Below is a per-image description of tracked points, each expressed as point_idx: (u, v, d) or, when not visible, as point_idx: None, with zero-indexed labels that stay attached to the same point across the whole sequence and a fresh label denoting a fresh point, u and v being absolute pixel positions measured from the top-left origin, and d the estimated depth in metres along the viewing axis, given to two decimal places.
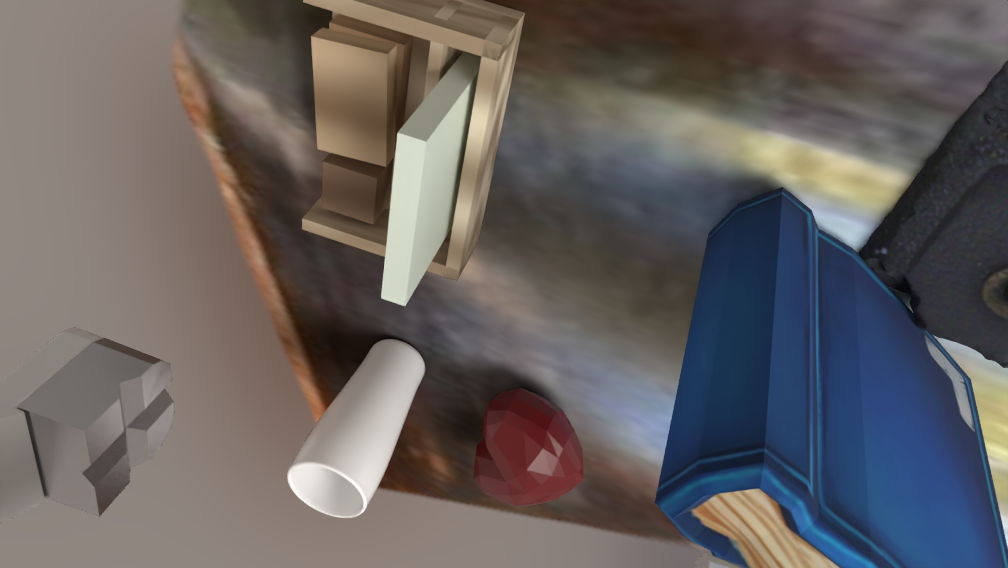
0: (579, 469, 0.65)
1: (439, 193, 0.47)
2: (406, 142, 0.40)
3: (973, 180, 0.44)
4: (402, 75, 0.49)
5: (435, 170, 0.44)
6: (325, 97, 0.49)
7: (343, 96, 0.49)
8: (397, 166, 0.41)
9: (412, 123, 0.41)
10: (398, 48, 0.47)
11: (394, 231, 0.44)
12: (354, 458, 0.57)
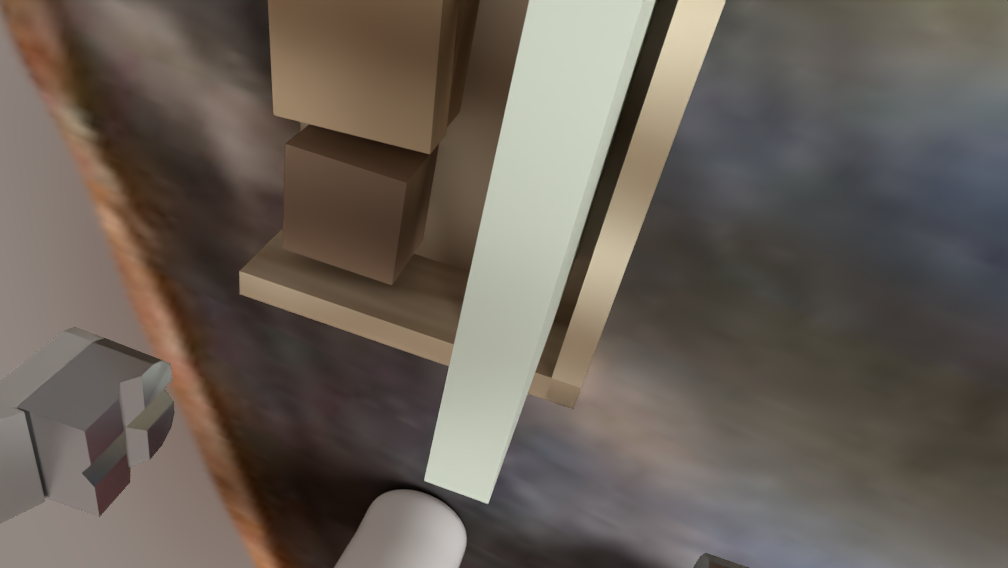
0: None
1: (586, 206, 0.18)
2: None
3: None
4: None
5: (608, 129, 0.15)
6: None
7: None
8: (520, 92, 0.12)
9: None
10: None
11: (482, 308, 0.15)
12: None
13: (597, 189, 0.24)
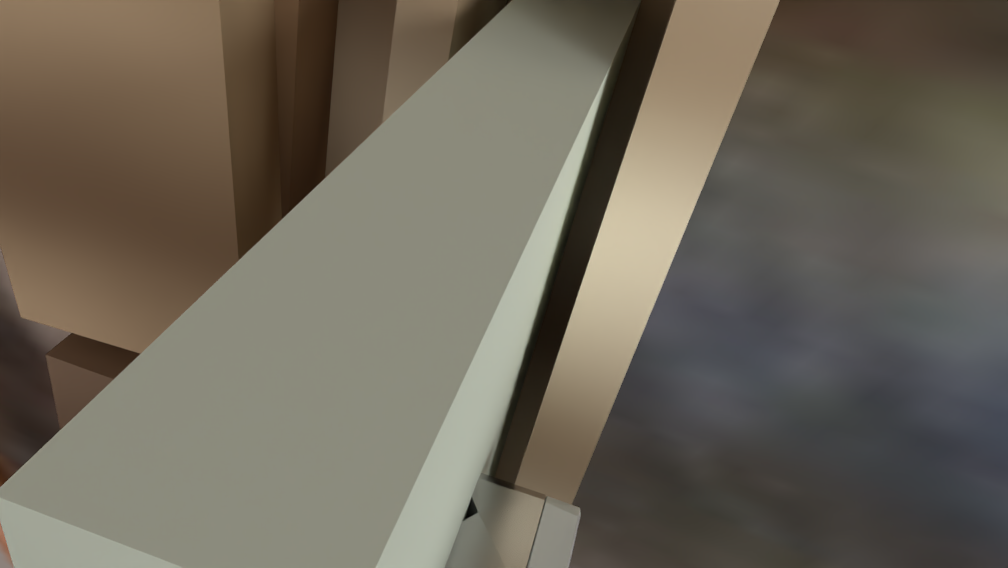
0: None
1: None
2: None
3: None
4: (303, 62, 0.13)
5: None
6: (6, 141, 0.13)
7: (68, 137, 0.13)
8: None
9: (230, 341, 0.04)
10: None
11: None
12: None
13: (512, 413, 0.17)
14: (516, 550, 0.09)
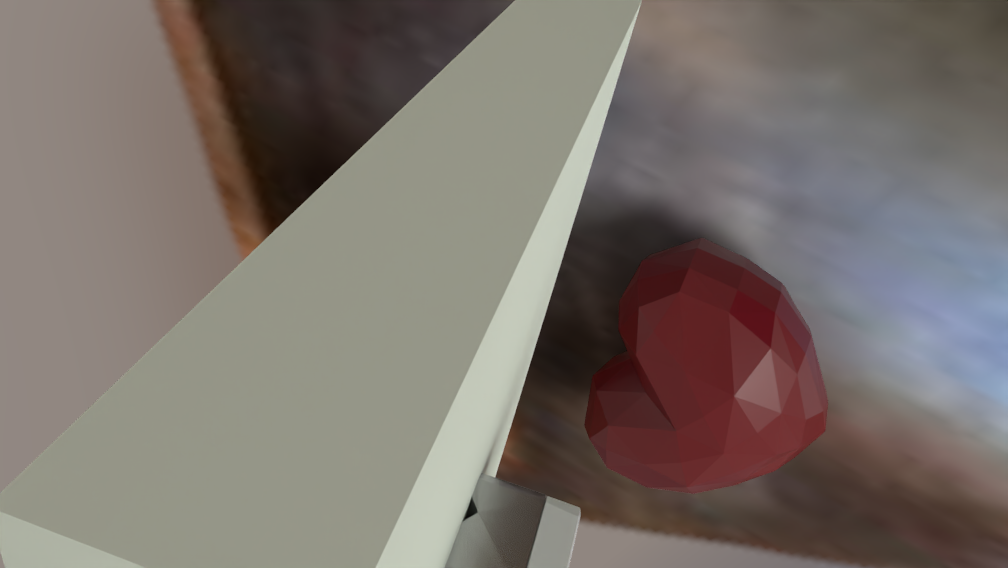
0: (825, 407, 0.31)
1: None
2: None
3: None
4: None
5: None
6: None
7: None
8: None
9: (226, 350, 0.04)
10: None
11: None
12: None
13: (512, 416, 0.17)
14: (516, 550, 0.09)
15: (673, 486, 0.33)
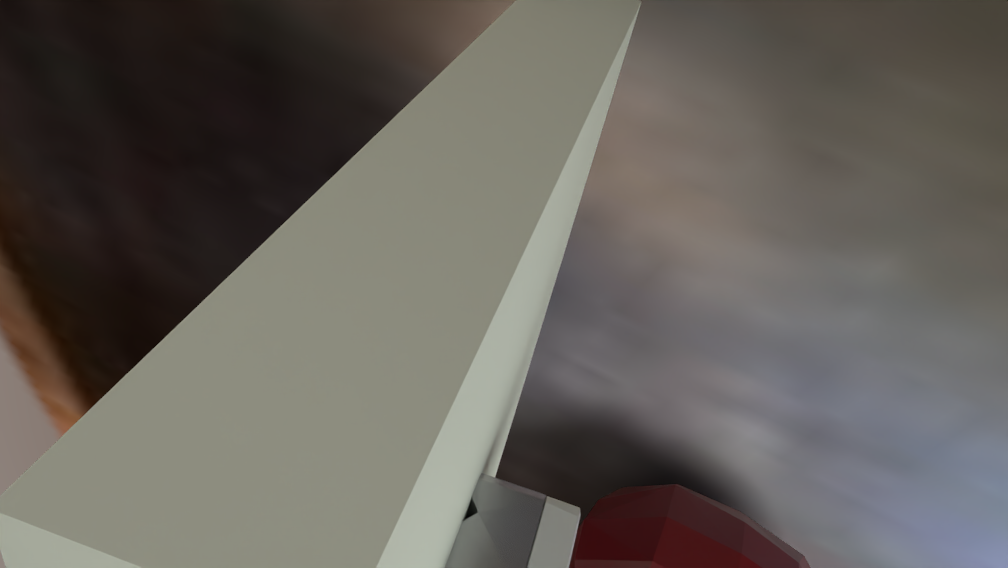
0: None
1: None
2: None
3: None
4: None
5: None
6: None
7: None
8: None
9: (226, 352, 0.04)
10: None
11: None
12: None
13: (512, 416, 0.17)
14: (516, 550, 0.09)
15: None
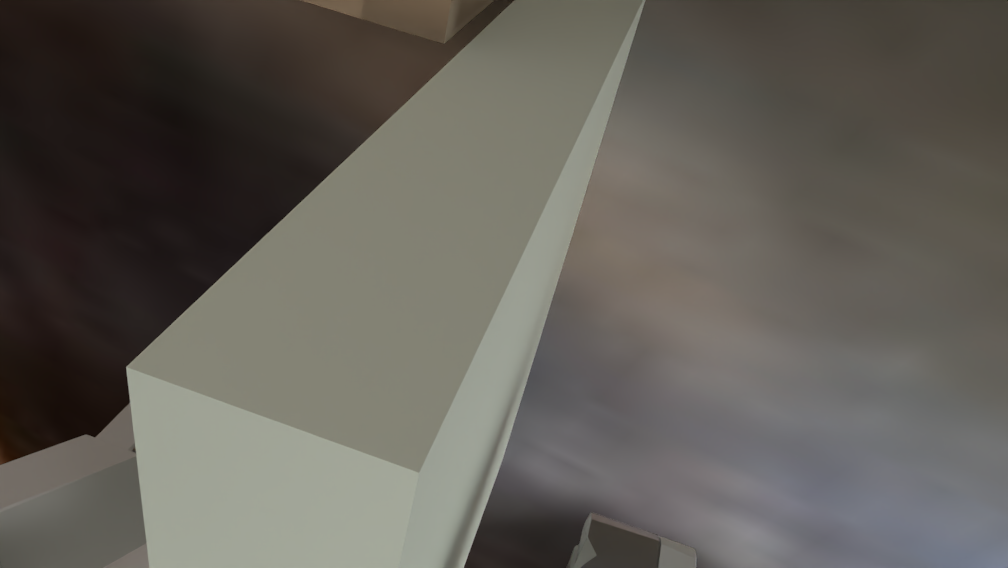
0: None
1: (463, 530, 0.11)
2: (226, 458, 0.04)
3: None
4: None
5: (460, 500, 0.08)
6: None
7: None
8: None
9: (303, 261, 0.05)
10: None
11: None
12: None
13: (523, 388, 0.17)
14: None
15: None
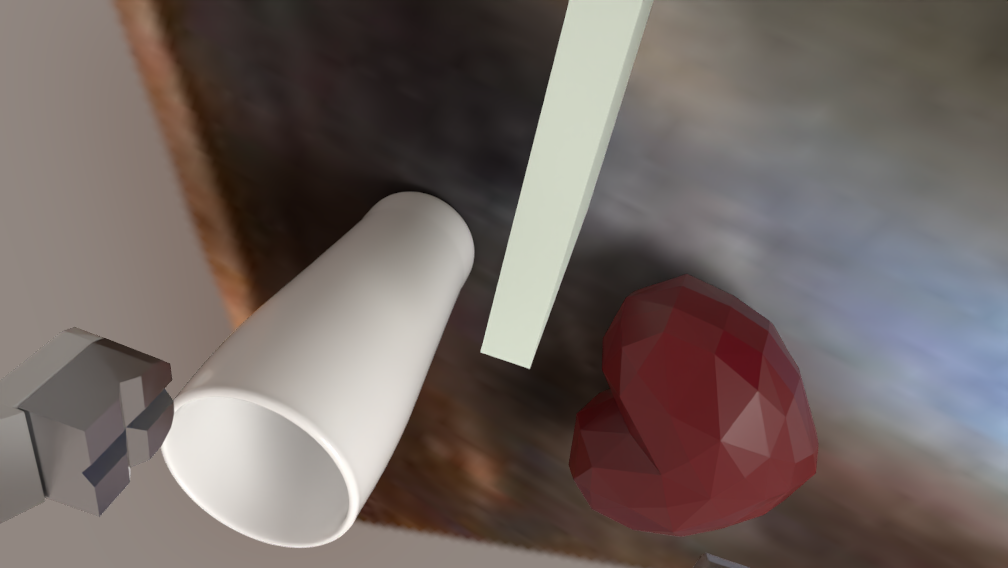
0: (815, 449, 0.30)
1: (603, 142, 0.23)
2: None
3: None
4: None
5: (622, 75, 0.21)
6: None
7: None
8: (567, 39, 0.18)
9: None
10: None
11: (533, 203, 0.20)
12: (330, 385, 0.23)
13: (606, 147, 0.30)
14: None
15: (659, 530, 0.31)
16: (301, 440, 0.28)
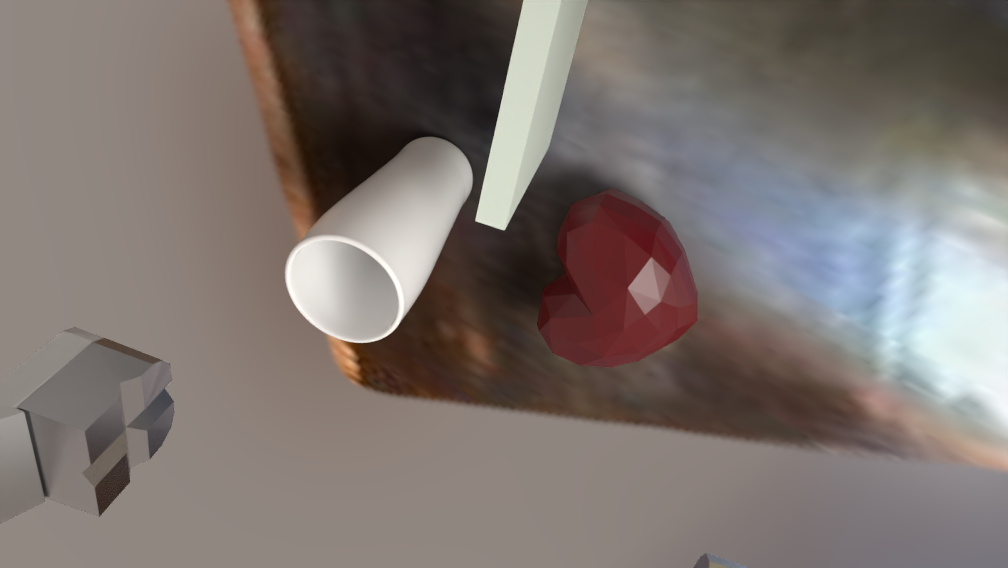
0: (694, 301, 0.46)
1: (548, 95, 0.39)
2: (536, 0, 0.33)
3: None
4: None
5: (555, 55, 0.37)
6: None
7: None
8: (520, 35, 0.34)
9: None
10: None
11: (504, 126, 0.36)
12: (387, 237, 0.39)
13: (559, 104, 0.46)
14: None
15: (594, 359, 0.48)
16: (362, 290, 0.44)
